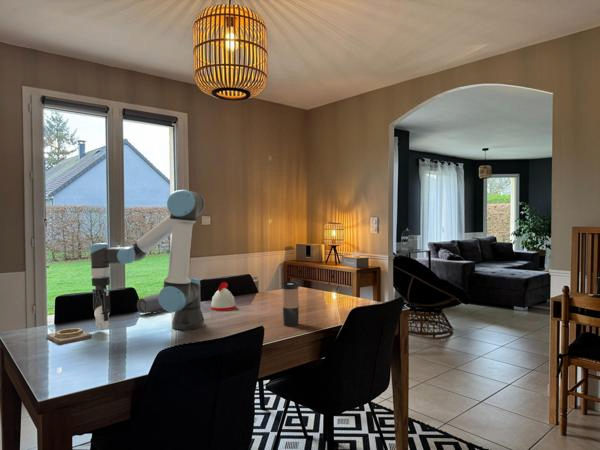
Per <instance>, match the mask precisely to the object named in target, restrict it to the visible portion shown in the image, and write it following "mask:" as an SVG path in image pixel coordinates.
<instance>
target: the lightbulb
mask: <svg viewBox="0 0 600 450" xmlns="http://www.w3.org/2000/svg"><path fill="white" fill-rule="evenodd" d="M101 313H103V312H102V306H99V307H98V308H96V310H94V313H93V314H94V318H95V320H96V319H97V320H98V323H99V326H98V327H99V330H101V331H103V330H105V329H106V328H102V314H101ZM108 316H110V312H109V313H108Z"/></svg>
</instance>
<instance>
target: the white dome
mask: <svg viewBox="0 0 600 450" xmlns="http://www.w3.org/2000/svg"><path fill="white" fill-rule="evenodd" d="M228 285H229V284H228V283H227V282H225V281H224V282H221V283H220V284H219V287H217V289H218V290H217V291H216V292H214V295H213V296H212V297H211V303H210V310H212V311H215V312H224V311H225V312H226V311H231V310H235V309H236V302H235V296H234V295H233V294H232V292H231V291H230V290H229V289H228V287H229V286H228Z"/></svg>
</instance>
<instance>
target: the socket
mask: <svg viewBox="0 0 600 450" xmlns="http://www.w3.org/2000/svg"><path fill="white" fill-rule="evenodd" d="M46 338H47V339H48V340H51V342H54V343H56V344H58V345H60V346H61V345H64V344H69V343H75V342H79V341H84V340H88V339H93V334H92V333H89V332H87V331H85V330H84V329H82V328H80V327H72V328H69V327H68V328H66V329H60V330H58V331H56V332H54V333H53V332H51V333H48V334H46Z"/></svg>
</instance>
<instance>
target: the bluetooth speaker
mask: <svg viewBox="0 0 600 450" xmlns="http://www.w3.org/2000/svg"><path fill="white" fill-rule="evenodd" d="M158 297H159V293H156V294H151V295H147V296H144V297H141V298H139V299H138V300H137V303H136V307H137V310H138V312H139V313H140V314H147V313H148V314H149V313H150V312H151V313H150V314H155V313H154V312H158V313H160V312H159V311H162V312H165V309H163V307H162V306H161V305H160V303H159V299H158Z"/></svg>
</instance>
